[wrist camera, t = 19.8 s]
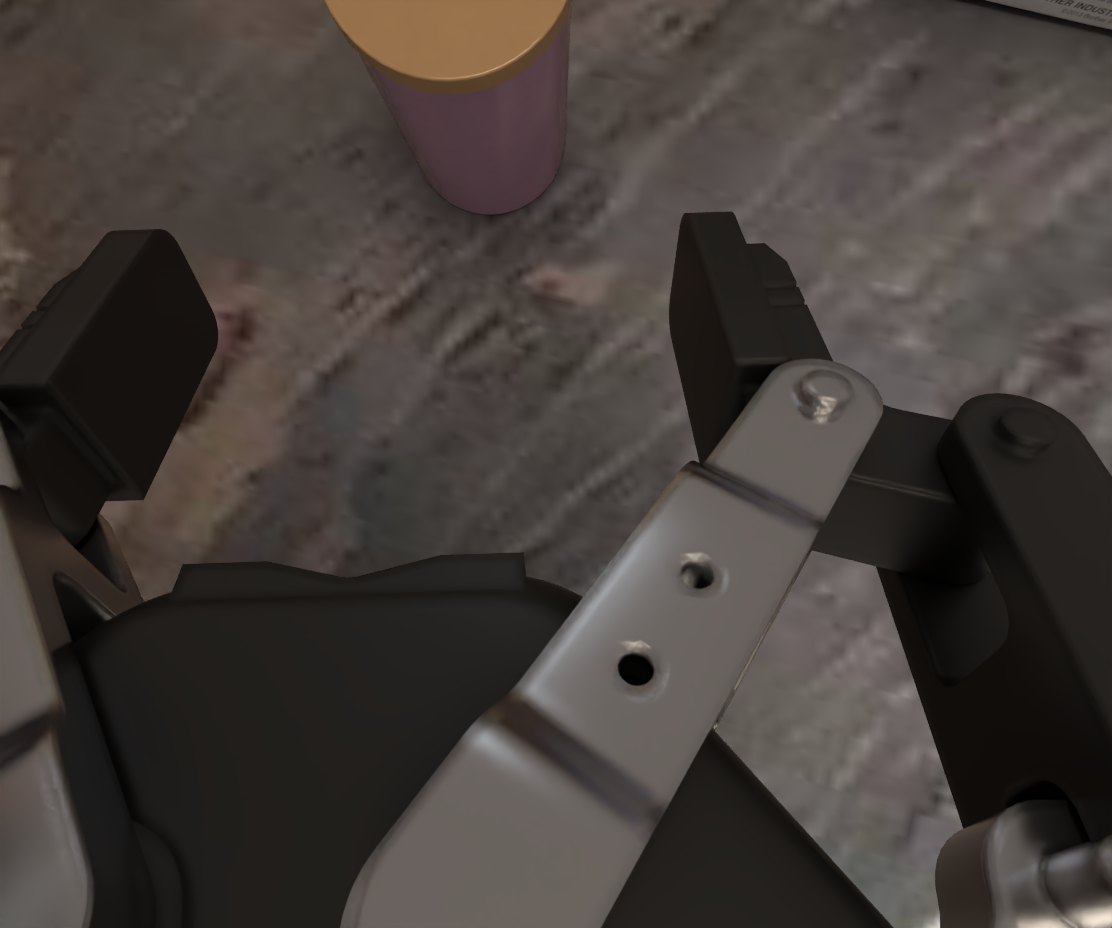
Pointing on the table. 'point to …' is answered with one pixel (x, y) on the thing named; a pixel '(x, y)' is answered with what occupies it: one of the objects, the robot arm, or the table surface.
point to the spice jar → (470, 90)
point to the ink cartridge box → (1069, 10)
